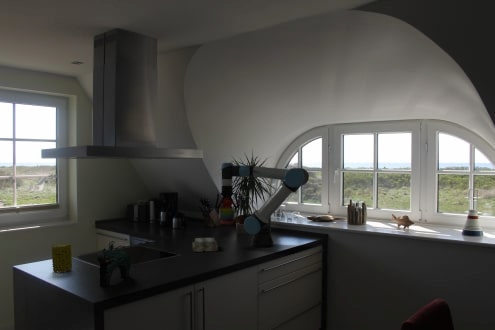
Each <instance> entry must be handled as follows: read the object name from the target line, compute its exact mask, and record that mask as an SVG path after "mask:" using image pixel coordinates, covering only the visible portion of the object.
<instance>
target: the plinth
mask: <svg viewBox="0 0 495 330" xmlns="http://www.w3.org/2000/svg"><path fill="white" fill-rule="evenodd" d="M218 248H219V246H218V243H217V241H216V240H215V237H197V238H196V237H195V238H194V241H193V242H192V252H193V253H198V252H199V253H200V252H201V253H202V252H203V251H205V252H218V251H219V249H218Z"/></svg>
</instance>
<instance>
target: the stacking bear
mask: <svg viewBox="0 0 495 330" xmlns="http://www.w3.org/2000/svg"><path fill="white" fill-rule="evenodd" d="M233 201H234V200H233ZM233 201H232V200H231V199H230V198H224V200H223V202H222V205H221V207H220V219H221V220H220V224H221V225H230V226H231V225H234V224H236V223H237V221H236V220H235V219H234V207H233Z"/></svg>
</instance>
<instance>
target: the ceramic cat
mask: <svg viewBox="0 0 495 330" xmlns="http://www.w3.org/2000/svg"><path fill="white" fill-rule="evenodd" d="M112 242H113V243H114V244H115V243H116V242H115V241H114V240H110V241H109V243H108V248H107V249H106V248H105V247H104V248H101V249H100V250H99V251H98V252H97V261H98V262H99V286H101V287H108V286H110V285H111V278H112V275H113V272H114V271H115V269H117V268H118V269H119V271H120V278H123V277H124V279H125V277H126V278H128V277H129V276H130V270H131V258H130V254H129V251H127V248H126V246H125V245H118V246H117V247H115V248H114V247H111V248H110V245H111V244H112ZM119 247H121V248H119Z"/></svg>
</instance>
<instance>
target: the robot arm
mask: <svg viewBox="0 0 495 330" xmlns="http://www.w3.org/2000/svg"><path fill="white" fill-rule="evenodd" d="M233 164H234V163H232V162H222V163H221V170H220V171H221V192H219V193H218V192H217V193H216V200H215V203H214V208H215V209H217V210H216V211H217V214H218V219H221V217H220V211H221V207H222V205H223V203H222V202H223V200H224V198H230V199H231V200H232V201H233V204H232V206H233V211H234V217H233V219H235V218H236V214H237V208H240V204H239V200H238V193H237V192H233V187H234V186H233V183H234V182H233V179H234V178H233V177H239V178H247V177H252V178H261V179H269V180H278V181H279V180H280V182H281V184H280V185H279V186H278V187H277V188H276V189H275V190H274V192H273V193H272V194H271V195H270V196H269V198H268V199H267V200H266V201H265V202H264V203H263V204H262V206H261V207H260V208H259V209H255V210H254V212H253V213H252V214H250V216H247V217H246V218H245V220H244V222H243V228H244V230H245V231H246V233H248V234H249V235H253V236H252V240H251V246H252V247H254V248H256V247H257V248H271V247H273V246H274V240H273V237H272V232H271V231H272V230H271V229H272V223H271V222H272V216H273V214H274V213H275V212H276V211H277V210H278V209H279V208H280V206H281V205H282V204H283V203H284V202H285V201H286V199H288V198H289V197H290V195H291V194H294V193H296V192H297V191H298V190H299V189H300V188H301V187H302V186H304V185H307V183H308V181H310V180H309V178H310V174H309V172H308V171H307V169H305V168H303V167H293V168H290V169H287V168H277V167H267V166H257V165H256V166H255V165H249V164H248V165H246V164H245V165H233ZM233 196H234V199H233V198H232V197H233ZM220 197H221V199H220ZM219 200H220V202H219ZM234 200H235V201H234ZM235 202H236V203H235Z"/></svg>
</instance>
